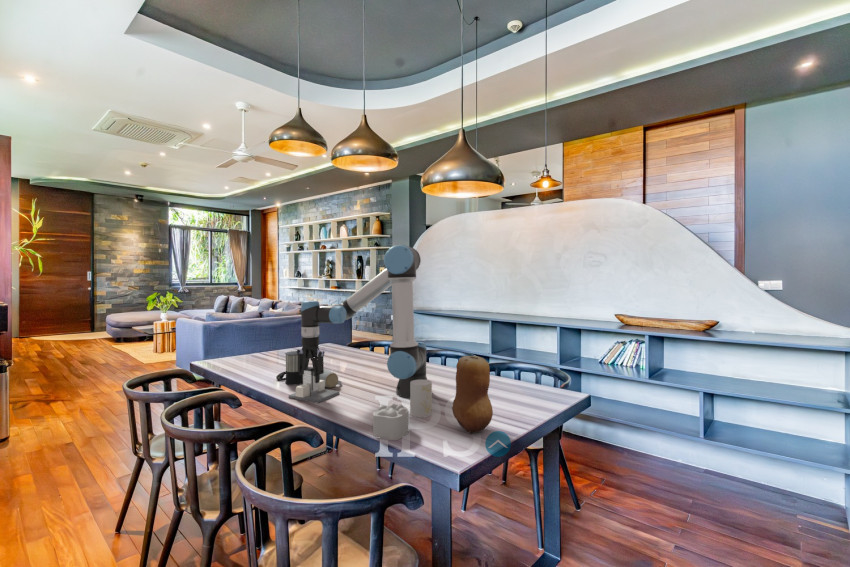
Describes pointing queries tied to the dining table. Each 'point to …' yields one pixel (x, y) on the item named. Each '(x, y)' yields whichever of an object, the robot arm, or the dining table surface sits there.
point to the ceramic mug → (330, 378)
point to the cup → (421, 398)
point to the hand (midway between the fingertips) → (310, 389)
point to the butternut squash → (472, 394)
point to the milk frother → (291, 369)
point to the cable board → (320, 396)
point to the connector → (309, 379)
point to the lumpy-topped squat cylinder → (390, 422)
